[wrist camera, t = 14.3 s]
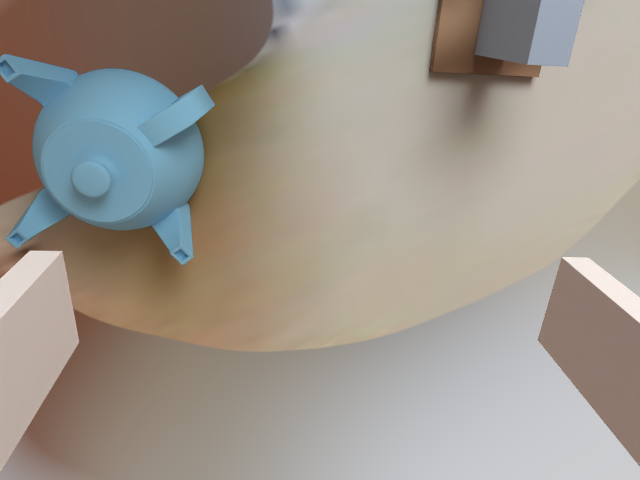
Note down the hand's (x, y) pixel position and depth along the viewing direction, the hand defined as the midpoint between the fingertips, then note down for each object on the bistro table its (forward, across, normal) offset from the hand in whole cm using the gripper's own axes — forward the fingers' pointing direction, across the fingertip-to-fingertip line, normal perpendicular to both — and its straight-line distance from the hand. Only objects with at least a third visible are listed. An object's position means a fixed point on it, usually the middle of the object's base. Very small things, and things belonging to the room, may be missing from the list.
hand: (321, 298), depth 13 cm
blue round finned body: (+35, -15, -5) cm, 38 cm away
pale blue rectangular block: (+33, +18, +8) cm, 39 cm away
